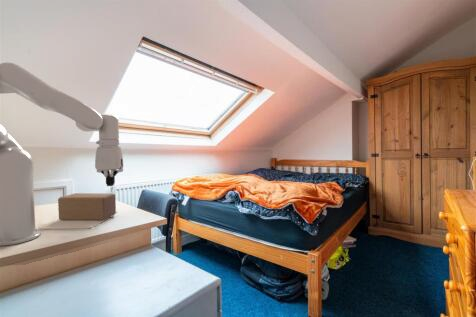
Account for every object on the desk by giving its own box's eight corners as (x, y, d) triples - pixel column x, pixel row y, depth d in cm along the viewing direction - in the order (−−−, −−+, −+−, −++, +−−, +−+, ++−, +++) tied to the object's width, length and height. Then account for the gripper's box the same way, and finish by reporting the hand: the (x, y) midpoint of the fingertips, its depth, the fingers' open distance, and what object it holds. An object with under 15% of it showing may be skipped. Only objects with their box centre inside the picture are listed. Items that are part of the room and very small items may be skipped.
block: (116, 193, 106) (74, 193, 107) (102, 197, 96) (56, 197, 97) (116, 214, 107) (75, 214, 108) (103, 221, 97) (57, 220, 98)
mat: (38, 229, 89) (38, 228, 89) (74, 213, 111) (74, 212, 111) (92, 228, 90) (91, 226, 90) (117, 212, 112) (117, 211, 112)
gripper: (86, 143, 96) (87, 187, 96) (123, 143, 96) (124, 186, 97) (96, 143, 103) (97, 184, 104) (130, 143, 104) (131, 184, 105)
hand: (110, 185), depth 100 cm, fingers closed
